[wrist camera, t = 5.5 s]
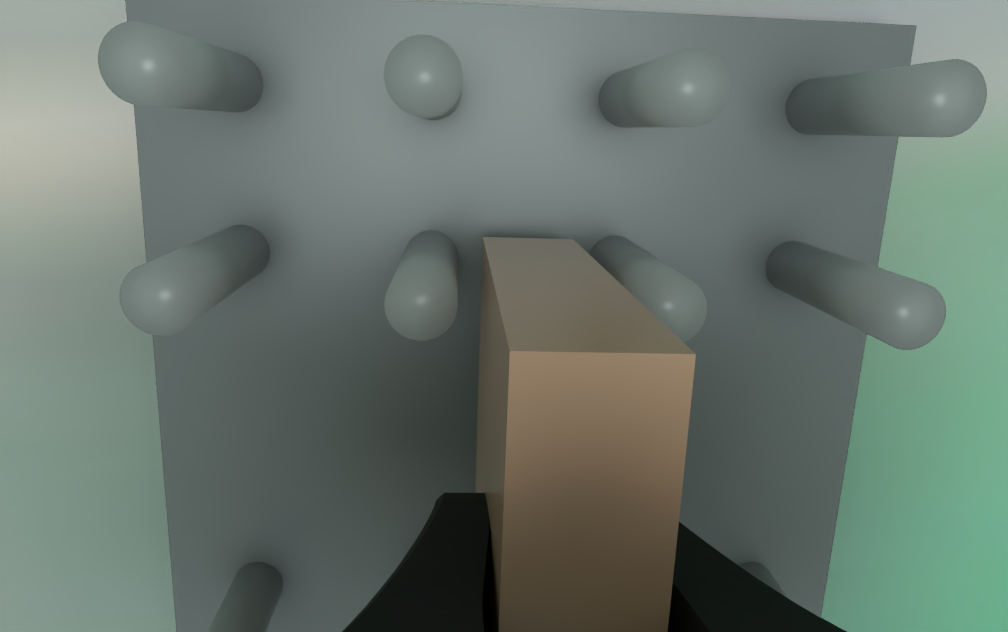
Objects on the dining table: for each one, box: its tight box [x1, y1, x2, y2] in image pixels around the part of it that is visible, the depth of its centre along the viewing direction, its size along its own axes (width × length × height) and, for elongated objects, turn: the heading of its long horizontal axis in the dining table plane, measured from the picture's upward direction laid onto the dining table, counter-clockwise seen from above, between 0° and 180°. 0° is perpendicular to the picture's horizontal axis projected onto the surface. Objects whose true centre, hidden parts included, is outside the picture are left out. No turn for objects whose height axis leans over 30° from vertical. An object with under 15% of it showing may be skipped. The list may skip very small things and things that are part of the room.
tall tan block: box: [475, 237, 696, 632], centre depth 11 cm, size 8×2×7 cm, turn 178°
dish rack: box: [98, 0, 987, 632], centre depth 14 cm, size 16×14×5 cm
